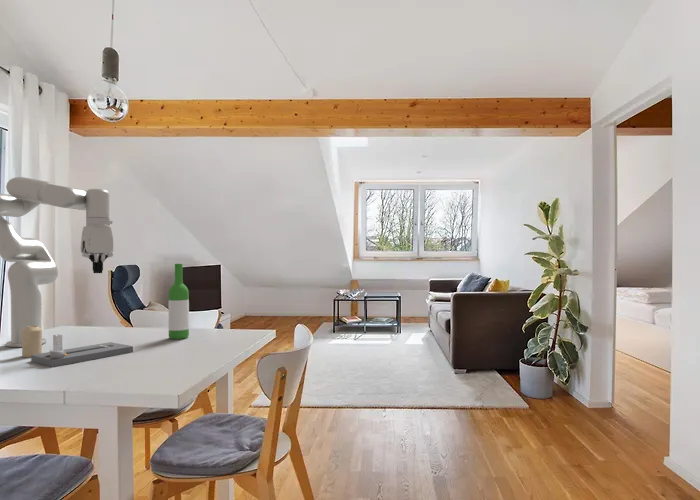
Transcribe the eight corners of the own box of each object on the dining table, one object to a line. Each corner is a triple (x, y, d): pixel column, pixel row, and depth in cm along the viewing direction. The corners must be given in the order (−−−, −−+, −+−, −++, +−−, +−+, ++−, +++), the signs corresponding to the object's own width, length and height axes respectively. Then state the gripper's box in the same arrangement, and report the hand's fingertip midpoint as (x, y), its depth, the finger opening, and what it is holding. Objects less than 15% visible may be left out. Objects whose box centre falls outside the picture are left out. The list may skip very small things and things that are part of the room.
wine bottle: (177, 340, 187) (177, 264, 188) (164, 338, 191) (164, 263, 192) (193, 337, 194) (192, 263, 194) (180, 335, 198) (179, 263, 198)
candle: (32, 357, 157) (32, 327, 157) (18, 357, 158) (18, 327, 158) (45, 354, 162) (45, 324, 162) (32, 353, 163) (32, 324, 163)
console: (31, 361, 152) (31, 348, 152) (110, 347, 173) (110, 336, 173) (52, 367, 144) (52, 353, 144) (132, 352, 166) (132, 340, 166)
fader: (49, 353, 152) (49, 335, 152) (59, 351, 154) (59, 333, 154) (56, 355, 149) (56, 336, 149) (66, 353, 152) (66, 335, 152)
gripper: (111, 224, 183) (112, 272, 183) (71, 222, 171) (71, 273, 171) (123, 223, 179) (123, 272, 179) (82, 221, 166) (82, 274, 166)
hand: (97, 273), depth 175 cm, fingers closed
